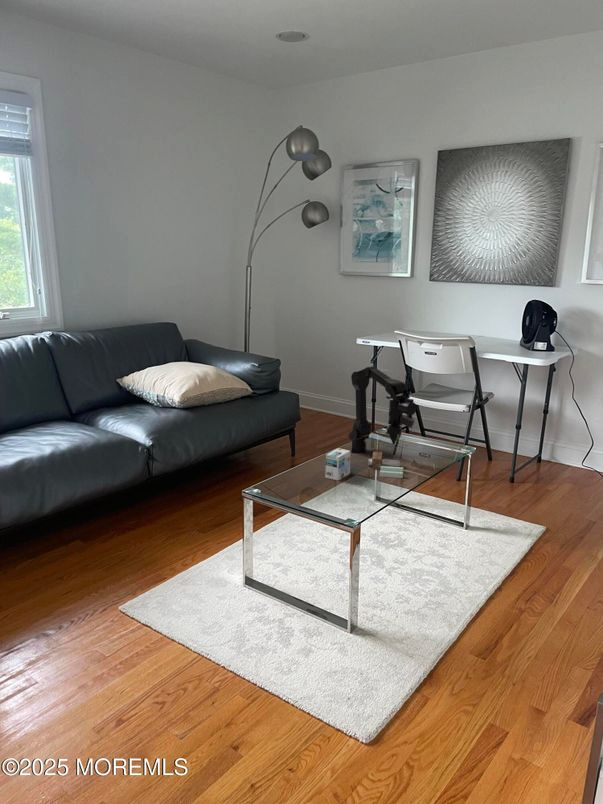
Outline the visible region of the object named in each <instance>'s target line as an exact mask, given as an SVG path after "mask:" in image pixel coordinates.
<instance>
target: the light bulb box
mask: <svg viewBox="0 0 603 804" xmlns="http://www.w3.org/2000/svg"><path fill="white" fill-rule="evenodd" d="M351 453H352V452H351V450H348V449H344V448H340V447H338V448H336V449H333V450H332V451H330V452H327V453H326V454H325V478H327V479H330V480H334V481H340V480H342V479H343V478H345V477H347V476H349V475H350V474H351Z"/></svg>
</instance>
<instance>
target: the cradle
mask: <svg viewBox="0 0 603 804" xmlns="http://www.w3.org/2000/svg"><path fill="white" fill-rule="evenodd" d="M379 477H381V478H382V477H383V478H395V479H397V478H398V479H403V478H404V467H402V466H401V467H400V466H399V467H388V466H381V468H380V469H379Z"/></svg>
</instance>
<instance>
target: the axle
mask: <svg viewBox="0 0 603 804" xmlns="http://www.w3.org/2000/svg"><path fill="white" fill-rule="evenodd" d="M400 463H401V460H396V459H383V458H382V459H381V466H388V467H400V465H401V464H400ZM367 466H368V467H372V457H370V458H368V460H367Z"/></svg>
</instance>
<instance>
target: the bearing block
mask: <svg viewBox="0 0 603 804" xmlns="http://www.w3.org/2000/svg"><path fill="white" fill-rule="evenodd" d="M371 459H372V466H371V470H380V468H381V459H383V452H382V451H373V453H372V457H371Z"/></svg>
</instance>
